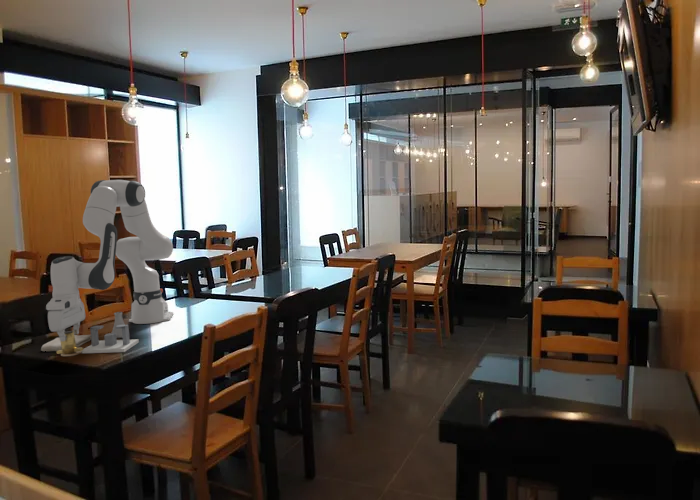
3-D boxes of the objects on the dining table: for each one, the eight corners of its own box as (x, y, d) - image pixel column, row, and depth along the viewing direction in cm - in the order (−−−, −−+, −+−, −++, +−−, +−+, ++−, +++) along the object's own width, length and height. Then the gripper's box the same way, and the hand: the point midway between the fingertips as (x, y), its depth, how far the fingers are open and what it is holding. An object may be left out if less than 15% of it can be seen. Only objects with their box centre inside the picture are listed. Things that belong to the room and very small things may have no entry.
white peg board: (98, 343, 233) (96, 322, 232) (138, 342, 232) (137, 321, 231) (81, 353, 219) (79, 331, 218) (124, 352, 218) (122, 329, 217)
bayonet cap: (62, 351, 222) (58, 331, 221) (85, 348, 221) (81, 328, 220) (54, 355, 217) (50, 335, 216) (78, 352, 216) (74, 332, 215)
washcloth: (93, 340, 241) (92, 332, 240) (71, 352, 223) (70, 344, 223) (64, 341, 241) (63, 333, 241) (40, 353, 223) (39, 345, 223)
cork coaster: (66, 351, 222) (66, 350, 222) (84, 350, 222) (84, 349, 222) (57, 356, 215) (56, 355, 215) (75, 356, 215) (75, 355, 215)
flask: (123, 338, 239) (121, 314, 238) (107, 338, 241) (105, 314, 240) (133, 334, 246) (131, 310, 245) (117, 334, 248) (115, 310, 247)
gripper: (71, 296, 227) (75, 331, 229) (43, 306, 207) (46, 345, 208) (88, 295, 227) (91, 330, 228) (60, 306, 207) (64, 344, 208)
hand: (69, 337), depth 218 cm, fingers open, 8 cm apart
